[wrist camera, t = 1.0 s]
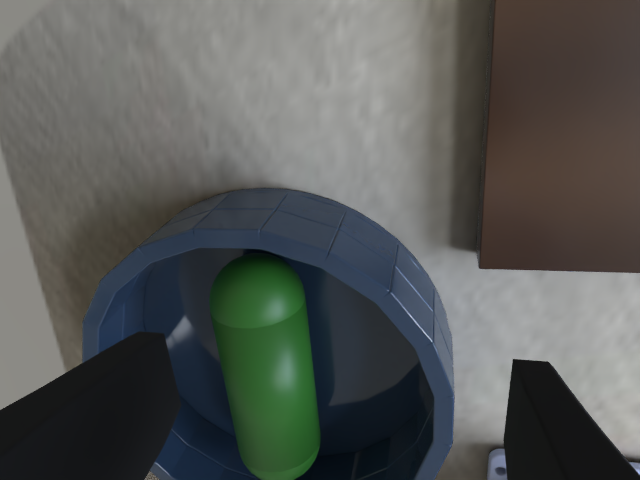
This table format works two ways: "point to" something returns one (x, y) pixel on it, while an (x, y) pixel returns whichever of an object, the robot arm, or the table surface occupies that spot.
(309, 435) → the cucumber
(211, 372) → the bowl
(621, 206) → the plate
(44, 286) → the table surface
